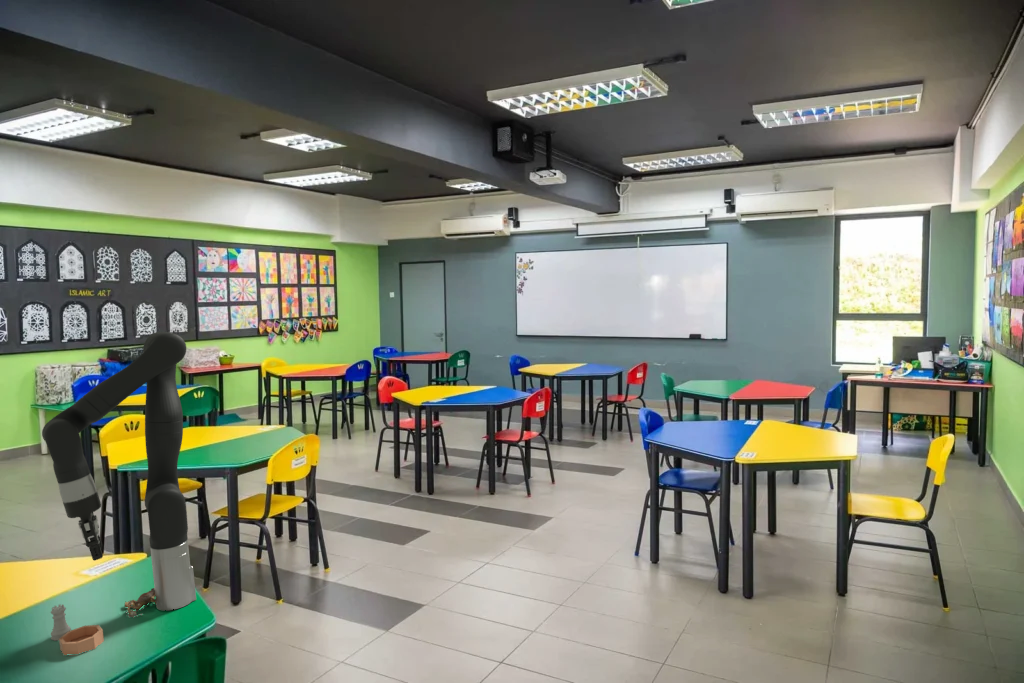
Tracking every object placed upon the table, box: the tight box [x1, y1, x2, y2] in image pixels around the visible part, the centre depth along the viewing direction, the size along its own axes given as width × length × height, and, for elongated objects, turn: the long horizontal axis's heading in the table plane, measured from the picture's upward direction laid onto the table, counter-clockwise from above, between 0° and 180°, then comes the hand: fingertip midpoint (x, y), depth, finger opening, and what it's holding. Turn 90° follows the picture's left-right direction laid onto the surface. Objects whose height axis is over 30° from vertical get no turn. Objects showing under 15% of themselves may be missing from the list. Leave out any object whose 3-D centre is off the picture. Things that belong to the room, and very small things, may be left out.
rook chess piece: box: [50, 604, 72, 642], centre depth 169 cm, size 4×4×8 cm
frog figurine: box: [124, 587, 156, 618], centre depth 184 cm, size 12×12×4 cm
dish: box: [58, 624, 105, 656], centre depth 165 cm, size 8×8×3 cm
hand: (98, 553), depth 171 cm, fingers open, 8 cm apart
